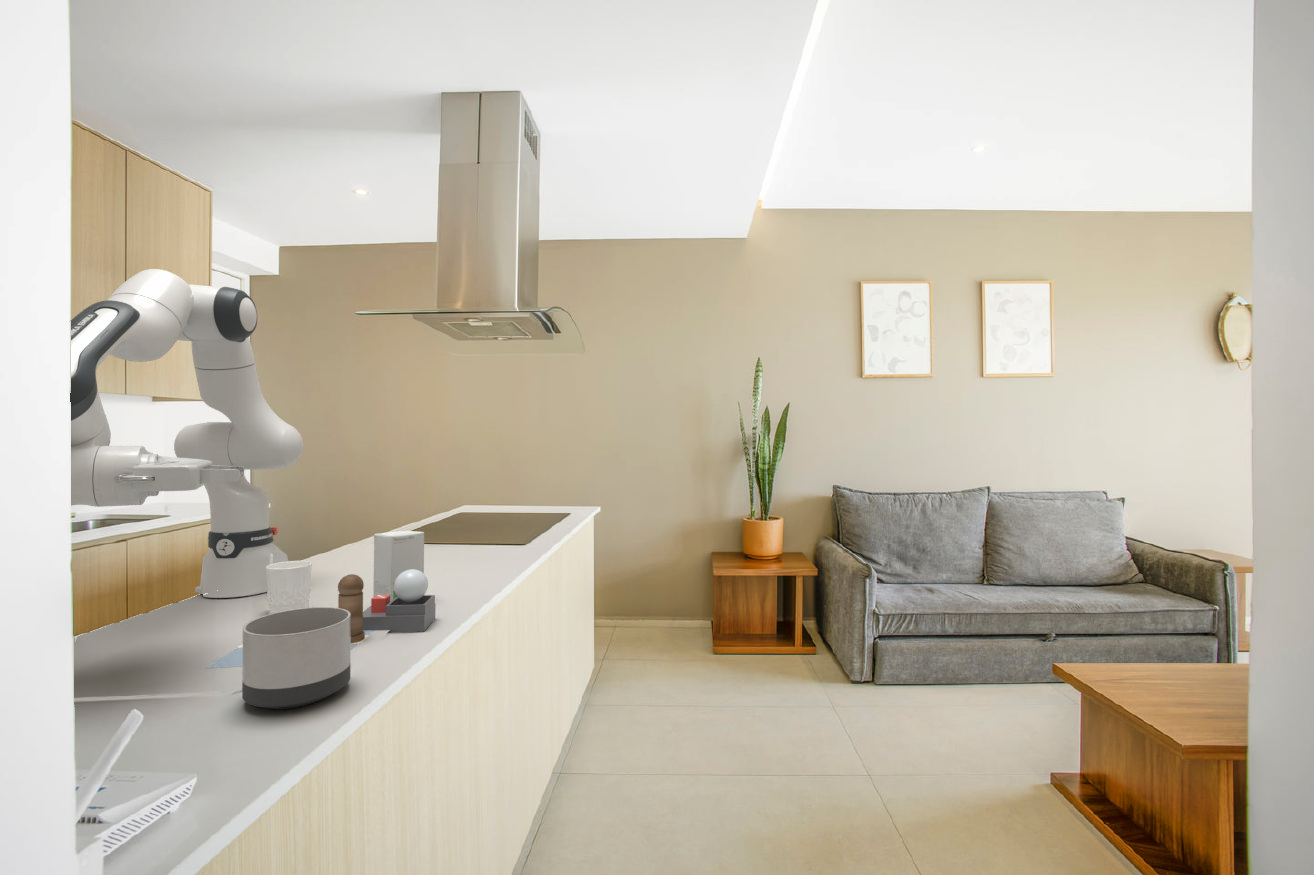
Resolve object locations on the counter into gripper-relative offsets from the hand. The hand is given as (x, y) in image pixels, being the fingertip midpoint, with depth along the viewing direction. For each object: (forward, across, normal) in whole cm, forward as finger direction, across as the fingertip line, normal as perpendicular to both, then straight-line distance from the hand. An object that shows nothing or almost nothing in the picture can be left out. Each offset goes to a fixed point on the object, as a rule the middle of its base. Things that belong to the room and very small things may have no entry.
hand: (242, 473), depth 95 cm
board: (+8, 0, +30) cm, 31 cm away
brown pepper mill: (+16, 0, +29) cm, 33 cm away
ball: (+26, +5, +25) cm, 37 cm away
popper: (+24, +6, +30) cm, 39 cm away
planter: (+8, -19, +30) cm, 37 cm away
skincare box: (+26, +20, +30) cm, 45 cm away
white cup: (+6, +25, +30) cm, 40 cm away
